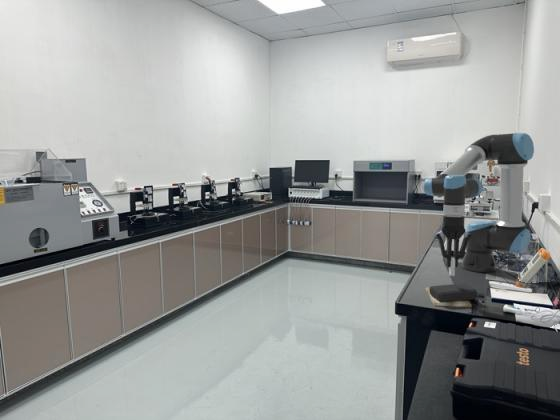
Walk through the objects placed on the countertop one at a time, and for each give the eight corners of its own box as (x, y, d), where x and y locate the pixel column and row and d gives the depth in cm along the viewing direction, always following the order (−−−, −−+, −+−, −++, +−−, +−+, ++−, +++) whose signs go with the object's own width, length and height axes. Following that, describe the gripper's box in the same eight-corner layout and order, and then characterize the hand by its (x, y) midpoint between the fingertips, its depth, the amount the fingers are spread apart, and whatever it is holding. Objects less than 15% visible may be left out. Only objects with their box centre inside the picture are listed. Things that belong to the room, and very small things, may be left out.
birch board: (458, 290, 161) (458, 288, 160) (471, 307, 143) (471, 304, 143) (425, 289, 163) (425, 287, 163) (434, 305, 145) (434, 303, 145)
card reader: (464, 292, 156) (428, 295, 154) (464, 282, 155) (428, 285, 154) (478, 300, 146) (440, 303, 145) (478, 290, 146) (440, 293, 145)
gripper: (437, 217, 146) (436, 277, 149) (475, 217, 143) (472, 278, 147) (433, 214, 153) (432, 271, 156) (469, 214, 151) (466, 272, 154)
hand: (451, 274), depth 151 cm, fingers closed
